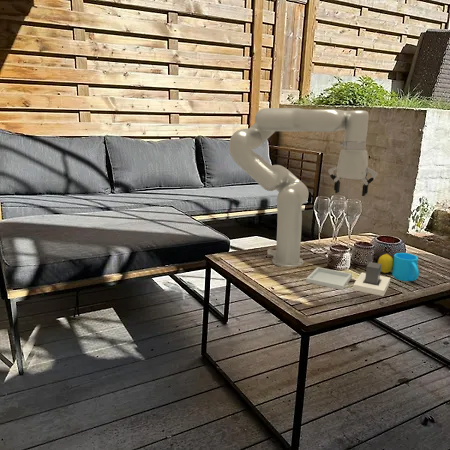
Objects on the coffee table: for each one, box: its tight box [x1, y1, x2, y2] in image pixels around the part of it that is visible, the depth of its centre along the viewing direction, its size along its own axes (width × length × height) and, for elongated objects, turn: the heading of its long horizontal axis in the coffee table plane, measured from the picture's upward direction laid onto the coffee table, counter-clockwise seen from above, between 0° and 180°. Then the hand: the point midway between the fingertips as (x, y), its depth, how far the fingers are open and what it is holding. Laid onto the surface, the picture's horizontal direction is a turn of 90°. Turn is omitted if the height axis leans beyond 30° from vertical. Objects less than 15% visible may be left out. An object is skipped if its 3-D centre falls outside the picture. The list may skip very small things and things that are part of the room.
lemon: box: [377, 253, 394, 274], centre depth 158 cm, size 6×6×8 cm
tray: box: [305, 266, 353, 291], centre depth 151 cm, size 13×13×2 cm
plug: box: [365, 261, 382, 286], centre depth 145 cm, size 4×5×8 cm
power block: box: [352, 272, 392, 297], centre depth 146 cm, size 10×13×3 cm
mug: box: [391, 252, 420, 282], centre depth 153 cm, size 12×8×8 cm
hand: (350, 194), depth 153 cm, fingers open, 9 cm apart
